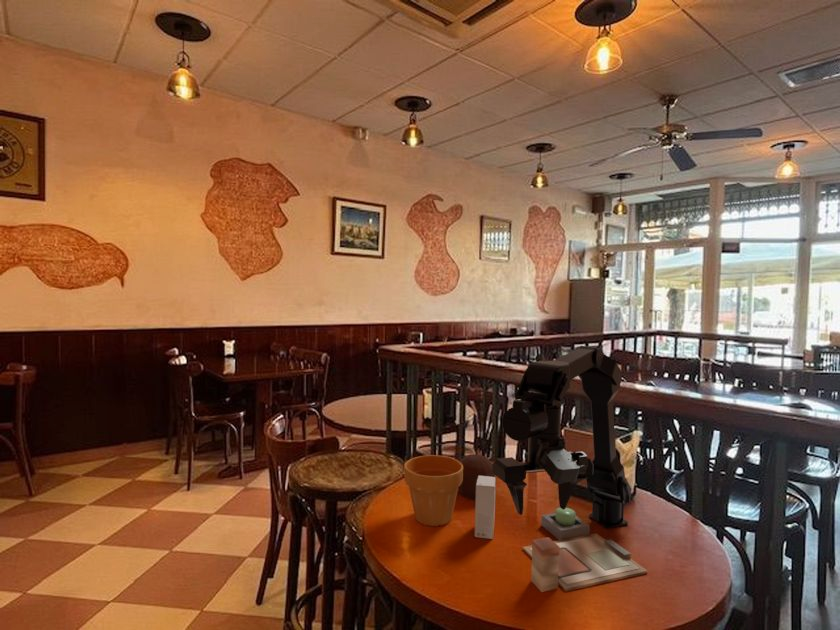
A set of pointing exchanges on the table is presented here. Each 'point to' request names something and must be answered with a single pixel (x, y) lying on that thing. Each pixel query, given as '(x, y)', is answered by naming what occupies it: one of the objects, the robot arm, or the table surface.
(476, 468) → the muffin
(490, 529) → the skincare box
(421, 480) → the flower pot
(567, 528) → the button collar
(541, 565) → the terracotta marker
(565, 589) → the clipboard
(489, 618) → the table surface
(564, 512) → the button
